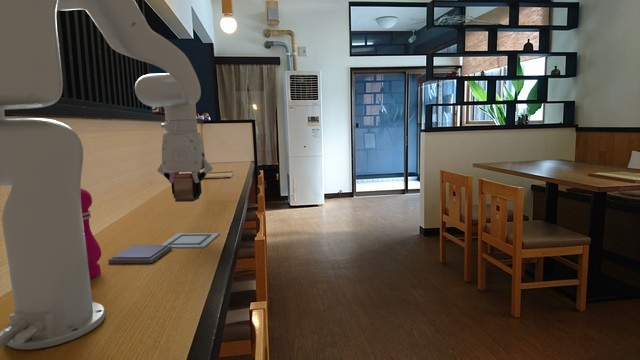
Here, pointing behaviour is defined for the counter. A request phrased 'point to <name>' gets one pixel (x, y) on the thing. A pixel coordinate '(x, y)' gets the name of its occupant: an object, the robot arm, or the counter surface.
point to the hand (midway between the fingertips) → (187, 196)
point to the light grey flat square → (191, 240)
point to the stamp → (184, 187)
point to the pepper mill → (90, 236)
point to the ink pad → (140, 254)
